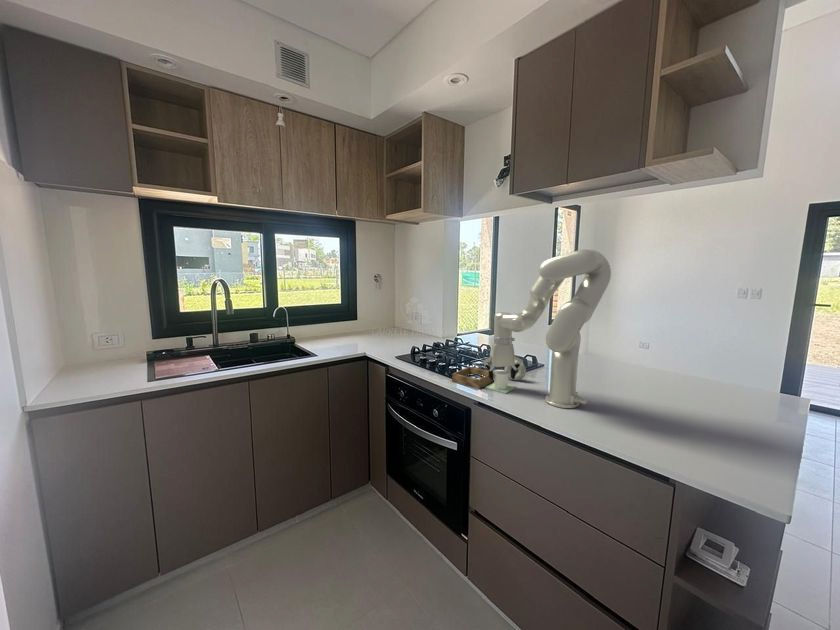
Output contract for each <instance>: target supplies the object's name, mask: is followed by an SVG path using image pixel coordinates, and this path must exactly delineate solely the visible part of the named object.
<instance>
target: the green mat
mask: <svg viewBox="0 0 840 630" xmlns="http://www.w3.org/2000/svg"><path fill="white" fill-rule="evenodd" d="M484 388H485V389H486V390H490V391H493V392H498V393H501V394H505V395H506V394H509V393H511V391H513V390H515V389H516V388H517V385H513V384H509V383H508V384H507V388H506V389H497V388H495V387H494V382H492V383H490V384H488V385H486V386H484Z"/></svg>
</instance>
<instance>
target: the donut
mask: <svg viewBox="0 0 840 630" xmlns="http://www.w3.org/2000/svg"><path fill="white" fill-rule="evenodd" d="M516 363H517V360H515V364H516ZM515 364H514V365H515ZM511 369H512V367H511V366H510V367H504V370H506V371H508V372H509V377H508V379H510V380H512V381H520V380H522V379H523V378H524V377H525V376H526V372H527V370H526V367H525V364H524V363H523V361H522V362H521V364H520V366H519V367H518V368H517V370H518V371H517V372H516V376H515V379H512V378H511Z"/></svg>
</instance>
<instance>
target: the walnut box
mask: <svg viewBox="0 0 840 630" xmlns="http://www.w3.org/2000/svg"><path fill="white" fill-rule="evenodd" d="M468 374H479V375H483V376H485V377H483V378H474V377H472V376H471V377H470V376H466V375H468ZM451 379H452V380H451V382H452V383H455V384H459V385H463V386H466V387H470V388H472V389H473V388H474V389H478V390H480V389H483V388H485V387H487V386H489V385H490V384H492V383H493V382H492V381H493V380H494V377H493V380H491V379H490V378H489V370H487V369H481V368H477V367H471V366H467V367H465V368H463V369H460V370H457V371H455V372H454V373H452V376H451ZM491 382H492V383H491Z"/></svg>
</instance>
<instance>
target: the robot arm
mask: <svg viewBox="0 0 840 630" xmlns="http://www.w3.org/2000/svg"><path fill="white" fill-rule="evenodd" d="M611 270H612V268H611V265H610V262H609V261H608V260H607V258H606V257H605V255H603V254H602V253H601V252H599V251H597V250H595V249H587V248H584V249H578V250H575V251H570V252H568V253H565V254H564V253H563V254H562V255H556V256H553V257H549V258H547V259H545V260H543V262H542V263H541V264H540V265H539V270H538V272H539V275H538V277H537V278H536V280H535V282H534V283H533V284H532V286H531V287H530V288H529V289H530V290H529V294H530V296H529V297H530V298H529V301H528V302H527V304H526V305H525V307H524V308H523V310H522V311H521V312H518V313H514V314H511V312H507V311H505V312H503V311H499V312H496V313H495V314H494V317H493V318H494V320H493V321H494V322H493V342H492V343H491V346H490V355H489V357H487V358H485V359H483V360H482V363H483V365H484V367H485V368H486V370H487V371H489V378H490V379H491V380H493V371H494V370H495V368H505V367H510V366H511V367H512V369H511V378H512V379H515V376H516V373H517V370H518V367H519V366H520V364H521V362H522V363H523V360H522V359H521V358H519V357H517V356H516V355H515V348H514V343H513V342H515V340H516V338H515V337H512V333H514V332H515V333H521V332H524V331H526V330H528V329H531V328H533V326H534V325H535V324H536V323H537V321H538V320H539V319H540V317H541V316H542V314H543V313H544V311H545V309H546V308H547V306H548V304H549V301H550V300H551V298H552V297H553V296H554V295H555V293H556V291H557V290H558V289H559V288H560V287H561V285H562V283H563V282H564V280H565V279H568V278H573V277H578V276H581V275H584V277H583V279H582V281H581V282H580V284H579V286H578V287H577V290H576V292H575V293H574V296H573V297H572V299H571V300H568V301H566V302H565V303H563V304H562V306H561V307H560V308H559V309H558V311H557V313H556V315H555V317H554V318H553V320H552V322H551V324H550V326H549V328H548V330H547V331H546V334H545V344H546V345H547V348H548V349H549V350H551V361H550V377H549V379H550V380H549V393H548V394H547V395H545V397H544V400H545V402H546V403H547V404H548V405H550V406H553V407H555V408H560V409H561V408H562V409H574V408H577V407H579V406H580V404H582V405H585V406H586V405H587V404H588V399H586V397H584V396H580V395H579V392H578V391H577V381H578V380H577V379H578V377H577V376H578V366H579V365H578V364H579V353H580V347H581V346H580V345H581V340H582V338H581V332H580V331H581V330H582V328H583V327H584V325H585V324H586V323H588V322H589V321H590V320H591V319H592V317H593V314H594V312H595V310H596V309H597V307H598V305H599V303H600V301H601V299H602V298H603V295H604V294H605V291H606V290H607V288H608V286H609V284H610V280H611V277H612V272H611ZM515 360H517V363H516V364H515ZM488 363H489V365H488ZM514 364H515V365H514ZM512 379H511V380H512Z"/></svg>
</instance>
